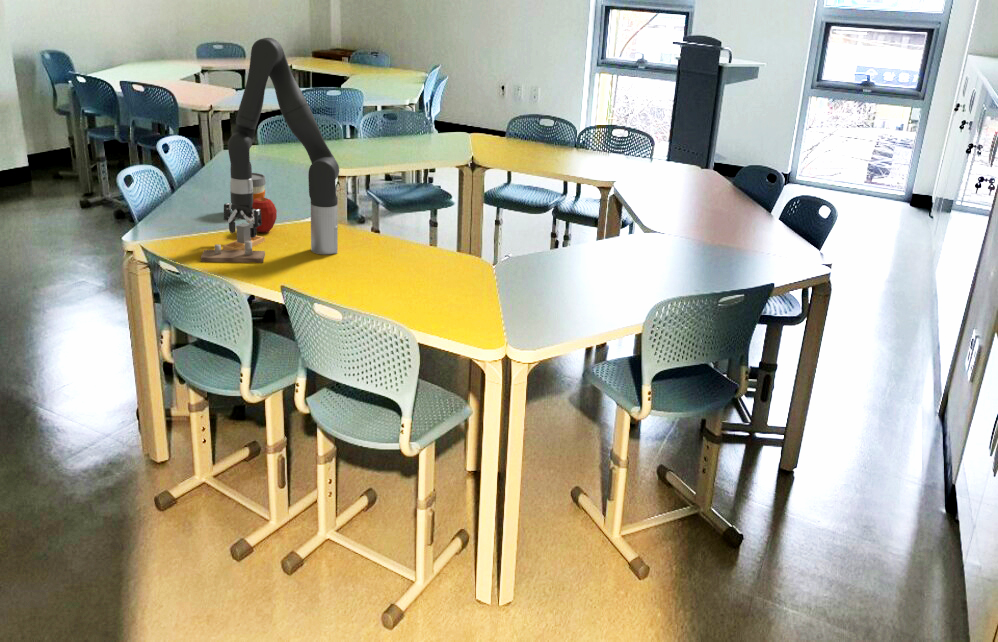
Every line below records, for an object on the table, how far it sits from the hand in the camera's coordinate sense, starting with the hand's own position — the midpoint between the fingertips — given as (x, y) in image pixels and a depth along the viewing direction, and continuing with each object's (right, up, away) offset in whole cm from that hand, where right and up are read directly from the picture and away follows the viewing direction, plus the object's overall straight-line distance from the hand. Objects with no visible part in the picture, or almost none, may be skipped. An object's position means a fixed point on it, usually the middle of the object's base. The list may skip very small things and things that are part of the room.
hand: (243, 234), depth 300 cm
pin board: (0, -9, -12) cm, 15 cm away
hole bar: (0, -4, +1) cm, 4 cm away
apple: (+2, +3, +18) cm, 18 cm away
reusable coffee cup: (-9, +12, +38) cm, 41 cm away
